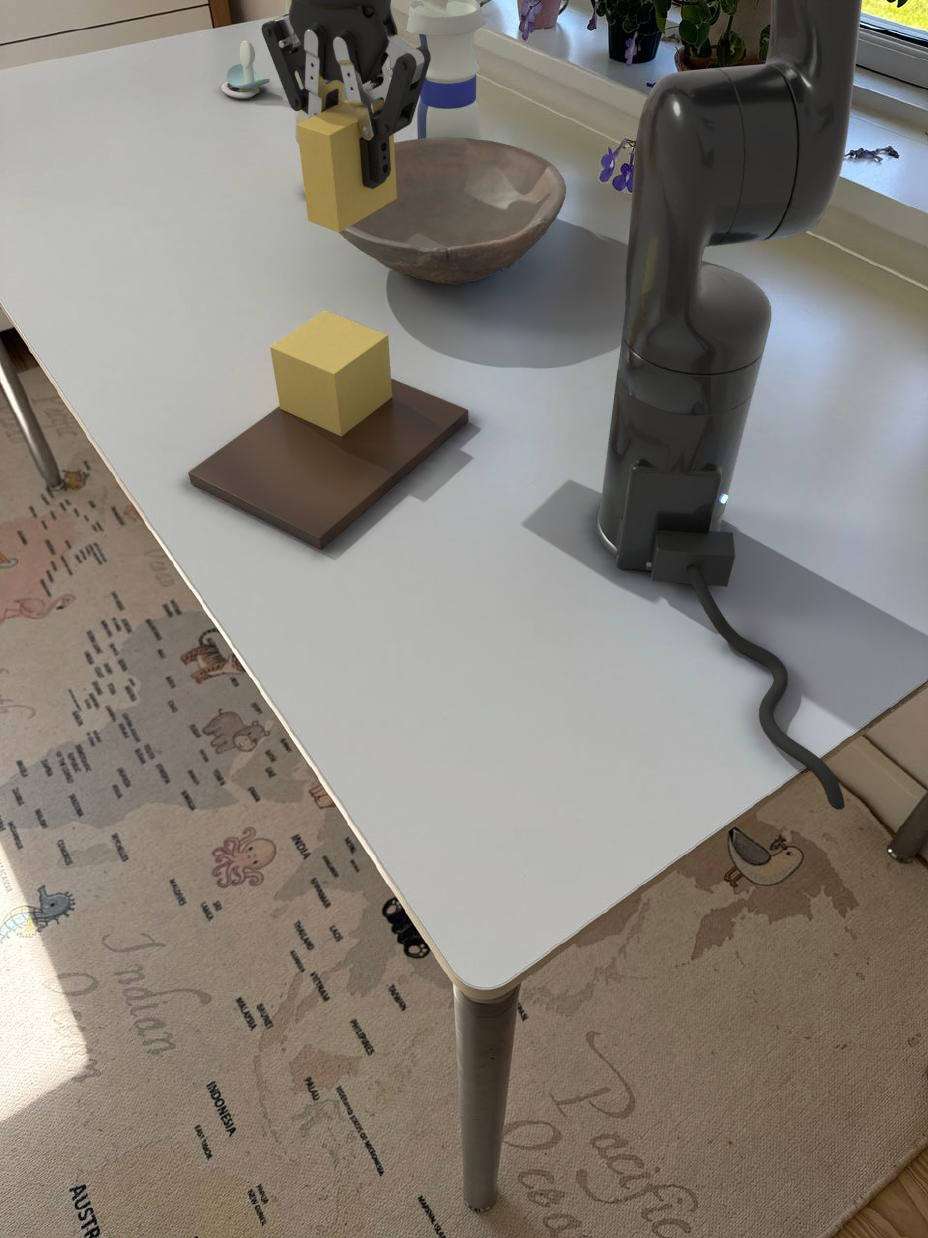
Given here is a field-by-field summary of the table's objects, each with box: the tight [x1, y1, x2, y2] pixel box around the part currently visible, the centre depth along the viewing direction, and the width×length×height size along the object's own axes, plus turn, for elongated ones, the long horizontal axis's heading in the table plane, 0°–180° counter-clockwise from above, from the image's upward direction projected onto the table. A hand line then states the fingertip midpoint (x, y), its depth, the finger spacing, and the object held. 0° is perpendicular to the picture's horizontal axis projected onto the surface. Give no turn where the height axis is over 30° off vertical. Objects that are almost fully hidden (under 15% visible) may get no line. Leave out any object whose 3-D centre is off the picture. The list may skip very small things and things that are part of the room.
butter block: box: [269, 310, 392, 436], centre depth 86 cm, size 7×7×6 cm
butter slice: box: [297, 100, 397, 233], centre depth 76 cm, size 7×3×7 cm, turn 144°
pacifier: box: [221, 39, 271, 99], centre depth 138 cm, size 7×6×6 cm
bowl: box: [338, 137, 567, 285], centre depth 104 cm, size 25×25×8 cm
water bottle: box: [406, 0, 487, 140], centre depth 110 cm, size 8×9×25 cm
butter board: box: [187, 377, 469, 550], centre depth 85 cm, size 20×14×1 cm
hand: (354, 176), depth 77 cm, fingers closed on butter slice, 3 cm apart
